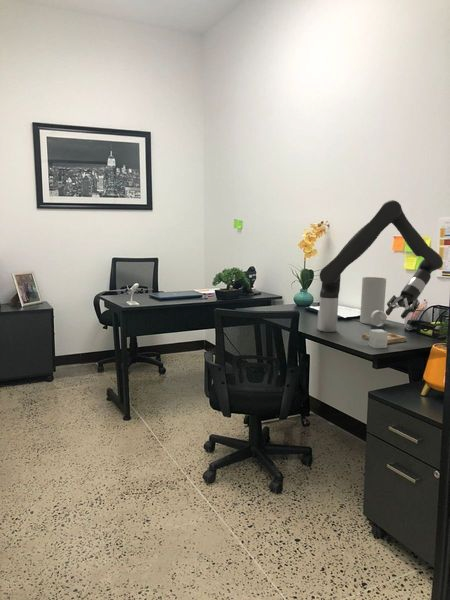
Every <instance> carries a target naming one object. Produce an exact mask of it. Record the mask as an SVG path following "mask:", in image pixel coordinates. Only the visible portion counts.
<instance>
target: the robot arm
mask: <svg viewBox="0 0 450 600" xmlns="http://www.w3.org/2000/svg"><path fill="white" fill-rule="evenodd" d="M390 224H392V225H393V226H394V227H395V229H397V231H398V232H399V234H400V235H401V237H402V239H403V240H404V242H405V243H406V244H407V246H408V247H409V249H410V250H411V251H412V253H413V254H414V255H415V256H416V257H422V258H423V259H422V260H421V261H420V263H419V265H418V266H417V269H416V272H415V273H414V274H413V276H412V277H411V279H409V280H408V282H407V283H406V285H405V286H404V287H403V288H402V290H401V291H400V294H399V296H396V295H393V296H392V297H391V298H390V299H389V300H388V302H387V303H386V306H387V307H388V308H387V309H386V310H385V314H386V316H390V314H391V313H392V312H393V310H394V309H398V308H404V310H403V312H402V313H401V314H400V317H401V319H406V318H407V316H408V315H409V314H410V313H413V314H415V312H416V310H417V309H418V308H419V305H420V304H421V303H420V301H419V299H418V298H419V297H420V296H421V295H422V293H423V291H424V290H425V287H426V286H427V284H428V283H429V281H430V280H431V277H432V276H431V273H433V272H434V271H437V270H439V269H441V268H442V267H443V265H444V261H443V259H442V257H441V255H440V254H439V253H438V252H437V251H436V250H435V249H433V248H432V247H430V246H429V245H428V244H427V242H426V241H425V240H424V238H423V237H422V236H421V234H420V233H419V232H418V231H417V230H416V229H415V227H414V226H413V225H412V224H411V222H410V221H409V219H408V218H407V217H406V214H405V213H404V211H403V209H402V206H401V204H400V202H398V200H395V199H390V200H387V201H385V202H384V203H383V204H382V205H381V207H380V208H379V210H378V211H377V212H376V214H375V215H374V216H373V217H372V218H371V219H370V221H369V222H367V223H366V224H365V225H363V226H362V227H361V228H360V229H359V230H358V231H357V232H356V233H354V235H353V236H352V237H351V238H350V239H349V240H348V242H347V243H345V245H344V246H343V247H342V249H341V250H340V251H339V252H338V254H337V255H336V256H335V257H334V258H333V259H332V260H331V261H329V263H328V264H326V265H325V266H324V267H323V268H322V269H321V270H320V272H319V280H320V282H321V287H320V288H321V289H320V292H319V307H318V309H319V310H318V311H317V321H316V322H317V325H316V328H317V331H319V332H326V333H334V332H337V330H338V316H339V315H338V314H339V313H338V311H339V310H338V309H339V295H340V291H341V290H340V289H341V275H342V273H343V272H344V271H345V270H346V268H347V267H349V266H350V265H351V264H352V263H354V262H355V261H356V260H357V259H359V258H360V257H361V256H363V254H364V253H366V251H367V250H368V249H369V248H370V247H371V246H372V245H373V244H374V243H375V241H376V239H377V238H378V237H379V236H380V234H381V233H382V232H383V231H384V230H385V229H386V228H387V227H388V226H389V225H390Z"/></svg>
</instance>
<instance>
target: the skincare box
mask: <svg viewBox="0 0 450 600" xmlns="http://www.w3.org/2000/svg"><path fill="white" fill-rule="evenodd" d="M368 333H369V340H368V346H370V347H371V348H373V349H387V348H388V344H387V337H388V333H389V332H388V331H386V330H385V329H384V330H382V329H375V330H371V329H369V331H368Z"/></svg>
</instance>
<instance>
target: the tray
mask: <svg viewBox="0 0 450 600" xmlns="http://www.w3.org/2000/svg"><path fill="white" fill-rule="evenodd" d="M361 335H362V336H361V338H362V339H363V340H368V341H369V332H367V333H362V334H361ZM403 342H404V343H405V342H407V336H404V335H399V334H395V333H391V332H388V337H387V345H392V344H397V343H403Z"/></svg>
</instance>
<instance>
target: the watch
mask: <svg viewBox="0 0 450 600" xmlns="http://www.w3.org/2000/svg"><path fill="white" fill-rule="evenodd" d="M377 312H379V316H380V318H381V319H382V322H381V323H380V324H379V325H376V323H375V321H374V314H375V313H377ZM387 316H388V315H387V314H386V312H385V311H384V312H383V311H379V310H376V311H374V312H373V313H372V314H371V318H370V319H371V322H372V324H373V325H370V330H375V329H382V330H384V331H385V326H384V324H385V323H386V321H387V319H388V317H387Z"/></svg>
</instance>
